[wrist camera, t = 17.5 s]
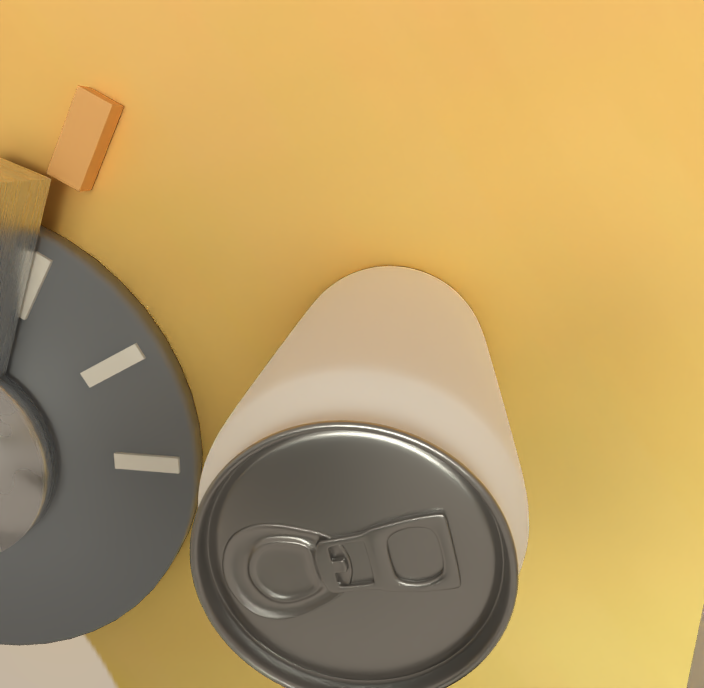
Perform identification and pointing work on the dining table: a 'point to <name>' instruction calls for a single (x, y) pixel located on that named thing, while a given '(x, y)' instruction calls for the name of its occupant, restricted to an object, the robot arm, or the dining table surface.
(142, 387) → the dial plate
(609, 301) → the dining table surface
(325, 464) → the can
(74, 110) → the small orange block
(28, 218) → the dial
